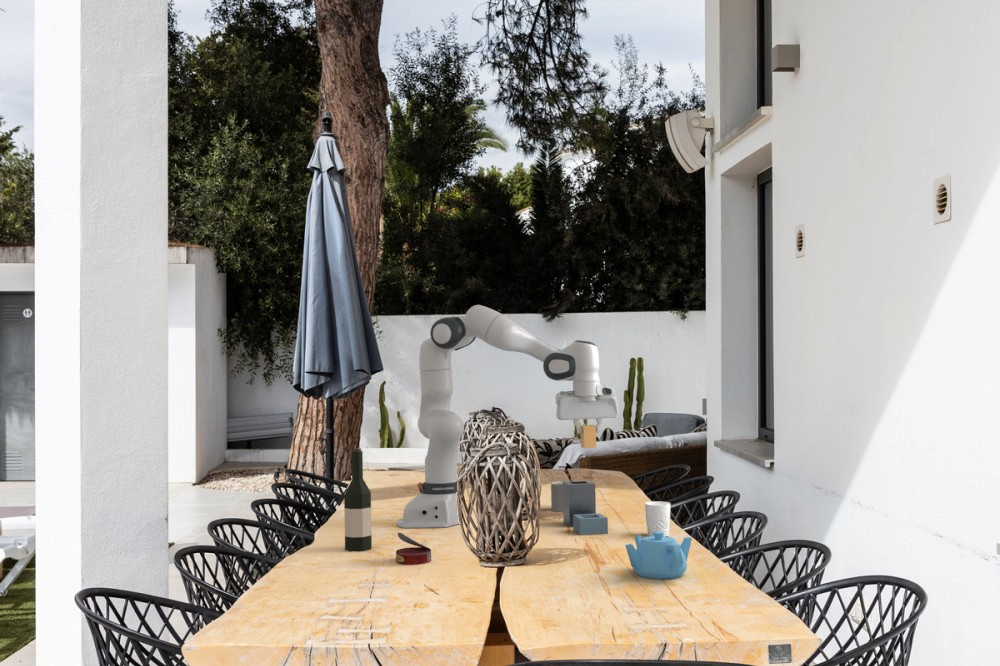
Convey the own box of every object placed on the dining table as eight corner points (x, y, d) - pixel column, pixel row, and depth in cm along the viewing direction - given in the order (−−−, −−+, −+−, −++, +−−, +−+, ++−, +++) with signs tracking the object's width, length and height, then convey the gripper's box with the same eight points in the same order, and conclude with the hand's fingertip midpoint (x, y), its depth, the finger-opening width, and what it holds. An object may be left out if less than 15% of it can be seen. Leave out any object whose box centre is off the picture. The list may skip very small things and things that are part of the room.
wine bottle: (349, 552, 272) (348, 450, 273) (340, 547, 280) (339, 448, 280) (376, 549, 276) (374, 448, 277) (367, 544, 283) (365, 446, 284)
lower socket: (580, 535, 293) (580, 519, 293) (573, 530, 302) (573, 514, 302) (607, 533, 294) (607, 517, 294) (600, 528, 303) (599, 513, 303)
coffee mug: (552, 512, 337) (552, 484, 337) (550, 508, 347) (550, 481, 347) (589, 511, 337) (588, 484, 338) (586, 507, 347) (585, 480, 347)
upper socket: (569, 527, 307) (568, 484, 307) (563, 522, 315) (562, 481, 316) (596, 526, 308) (595, 483, 309) (589, 521, 317) (588, 480, 317)
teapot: (622, 578, 235) (621, 536, 235) (635, 565, 249) (634, 525, 249) (683, 583, 229) (682, 539, 229) (693, 569, 243) (692, 528, 244)
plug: (584, 448, 298) (583, 426, 298) (581, 447, 302) (580, 425, 302) (596, 447, 298) (595, 425, 298) (592, 446, 302) (592, 424, 302)
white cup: (673, 533, 292) (673, 502, 293) (667, 538, 285) (666, 505, 285) (649, 532, 296) (648, 500, 296) (642, 536, 288) (641, 504, 289)
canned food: (399, 575, 262) (398, 541, 267) (434, 571, 262) (432, 537, 267) (392, 565, 252) (390, 529, 257) (428, 560, 252) (426, 525, 257)
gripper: (557, 391, 295) (559, 435, 295) (619, 389, 299) (620, 432, 299) (553, 391, 302) (554, 433, 301) (613, 388, 305) (615, 430, 305)
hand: (588, 433), depth 300 cm, fingers closed on plug, 4 cm apart
